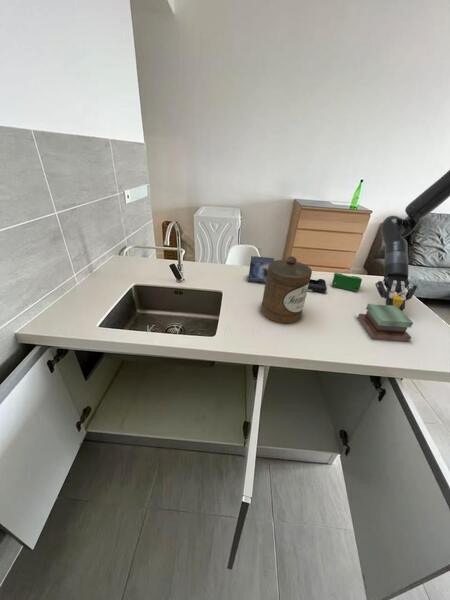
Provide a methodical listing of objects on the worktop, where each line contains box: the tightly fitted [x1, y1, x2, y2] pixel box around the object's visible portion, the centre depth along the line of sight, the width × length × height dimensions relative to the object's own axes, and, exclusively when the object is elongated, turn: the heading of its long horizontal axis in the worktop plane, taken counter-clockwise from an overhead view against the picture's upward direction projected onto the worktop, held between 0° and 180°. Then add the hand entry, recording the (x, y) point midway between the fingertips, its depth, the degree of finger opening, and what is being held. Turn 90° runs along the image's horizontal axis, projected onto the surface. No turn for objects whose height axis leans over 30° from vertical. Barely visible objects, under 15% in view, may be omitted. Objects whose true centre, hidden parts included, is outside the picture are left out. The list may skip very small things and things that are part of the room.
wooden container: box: [260, 255, 313, 324], centre depth 86 cm, size 15×15×22 cm
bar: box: [392, 294, 404, 309], centre depth 90 cm, size 3×3×9 cm
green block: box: [331, 272, 363, 292], centre depth 111 cm, size 12×6×9 cm, turn 62°
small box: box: [247, 255, 275, 284], centre depth 111 cm, size 11×6×10 cm, turn 83°
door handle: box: [307, 278, 328, 293], centre depth 112 cm, size 3×20×16 cm
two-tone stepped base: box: [357, 303, 414, 342], centre depth 84 cm, size 12×12×7 cm
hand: (395, 309), depth 88 cm, fingers closed on bar, 3 cm apart
